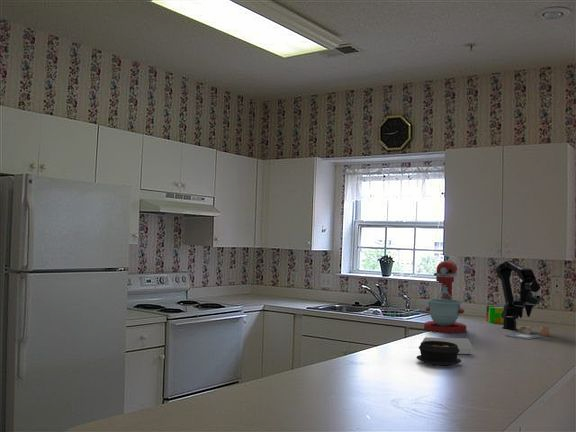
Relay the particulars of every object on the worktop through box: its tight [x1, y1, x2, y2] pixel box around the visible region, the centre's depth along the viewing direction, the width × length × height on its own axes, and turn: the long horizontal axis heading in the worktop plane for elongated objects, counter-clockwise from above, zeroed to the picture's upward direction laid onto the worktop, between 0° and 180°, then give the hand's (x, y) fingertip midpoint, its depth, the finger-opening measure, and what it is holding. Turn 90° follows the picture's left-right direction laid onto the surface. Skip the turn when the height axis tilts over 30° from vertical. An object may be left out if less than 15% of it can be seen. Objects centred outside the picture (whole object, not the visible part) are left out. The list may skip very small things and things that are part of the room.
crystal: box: [421, 336, 473, 355], centre depth 285 cm, size 7×7×24 cm
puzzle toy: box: [485, 305, 504, 325], centre depth 401 cm, size 10×10×10 cm
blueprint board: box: [504, 332, 544, 340], centre depth 343 cm, size 14×16×1 cm
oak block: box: [517, 325, 532, 335], centre depth 356 cm, size 5×5×4 cm
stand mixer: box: [423, 260, 467, 334], centre depth 360 cm, size 24×32×40 cm
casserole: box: [415, 341, 462, 367], centre depth 260 cm, size 25×19×8 cm
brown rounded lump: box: [539, 325, 550, 337], centre depth 350 cm, size 5×5×5 cm
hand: (524, 317), depth 357 cm, fingers open, 9 cm apart
